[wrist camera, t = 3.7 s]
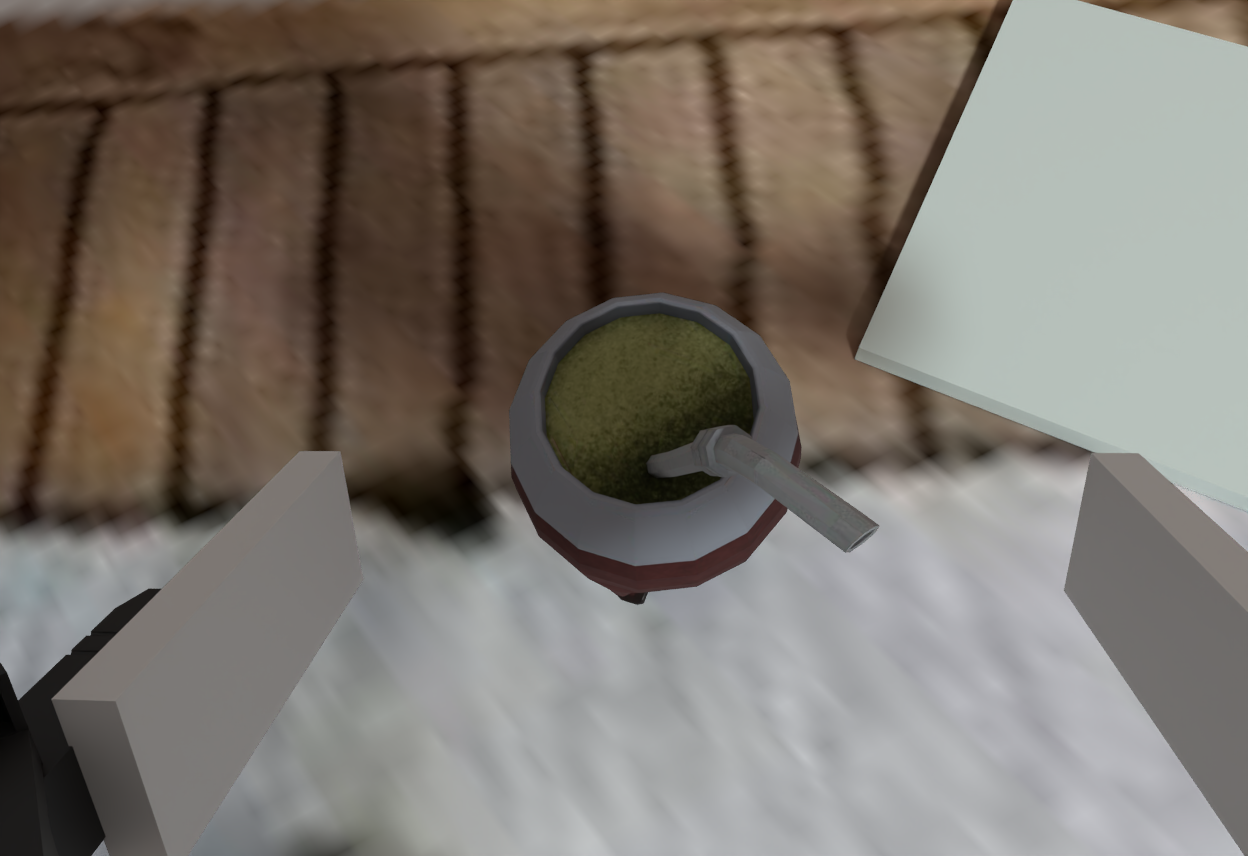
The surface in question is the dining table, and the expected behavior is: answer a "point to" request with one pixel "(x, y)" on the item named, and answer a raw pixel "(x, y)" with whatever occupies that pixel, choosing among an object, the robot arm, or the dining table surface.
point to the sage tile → (1090, 245)
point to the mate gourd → (662, 446)
